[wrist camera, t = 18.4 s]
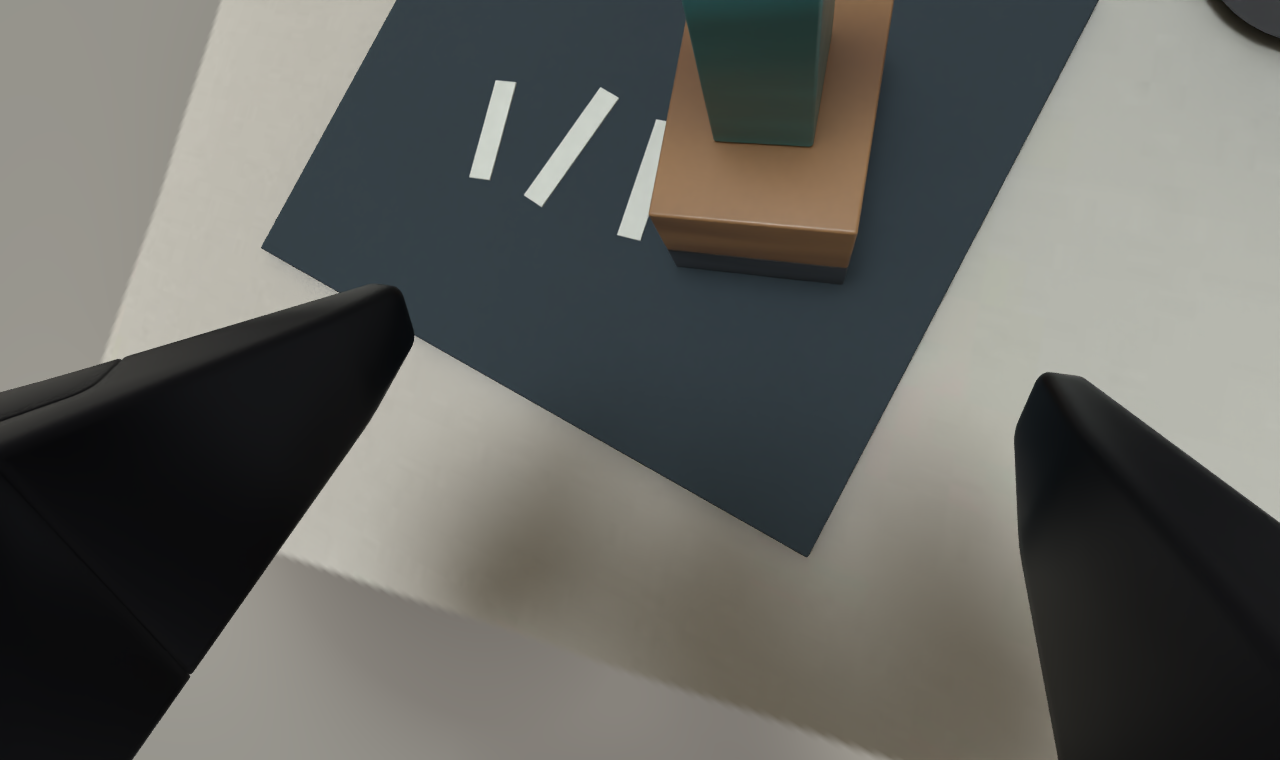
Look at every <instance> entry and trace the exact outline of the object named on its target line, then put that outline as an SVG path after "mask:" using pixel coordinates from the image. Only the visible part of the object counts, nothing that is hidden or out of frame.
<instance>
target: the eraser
mask: <svg viewBox="0 0 1280 760" xmlns="http://www.w3.org/2000/svg"><path fill="white" fill-rule="evenodd" d="M682 5H683V9H684V13H685V18H686V22H685V27H684V32H683V38H682V43H681V48H680V53H679V58H678V63H677V69H676V74H675V79H674V84H673V89H672V94H671V100H670V105H669V110H668V115H667V120H666V126H665V131H664V136H663V141H662V146H661V151H660V157H659V162H658V167H657V172H656V177H655V182H654V188H653V193H652V198H651V203H650V208H649V217H650V219H651V220H652V222H653V224H654V226H655V228H656V229H657V231H658V233H659V235H660V237H661V239H662V240H663V242H664V244H665V246H666V248H667V249H668V252H669V253H670V255H671V257H672V259H673V261H674V263H675V264H676V266H679V267H688V268H697V269H706V270H715V271H724V272H733V273H742V274H751V275H760V276H769V277H778V278H787V279H796V280H805V281H814V282H823V283H832V284H843V283H844V280H845V277H846V273H847V269H848V266H849V262H850V259H851V255H852V252H853V248H854V244H855V241H856V237H857V234H858V228H859V222H860V215H861V209H862V203H863V196H864V190H865V184H866V177H867V171H868V164H869V158H870V152H871V145H872V139H873V132H874V126H875V120H876V113H877V107H878V100H879V94H880V88H881V81H882V75H883V68H884V62H885V56H886V49H887V43H888V37H889V30H890V24H891V17H892V11H893V5H894V0H682Z"/></svg>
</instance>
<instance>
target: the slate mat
mask: <svg viewBox="0 0 1280 760" xmlns="http://www.w3.org/2000/svg"><path fill="white" fill-rule="evenodd" d="M1098 1H1099V0H894V5H893V11H892V17H891V24H890V30H889V37H888V43H887V49H886V56H885V62H884V68H883V75H882V81H881V88H880V94H879V100H878V107H877V113H876V120H875V126H874V132H873V139H872V145H871V152H870V158H869V164H868V171H867V177H866V184H865V190H864V196H863V203H862V209H861V215H860V222H859V228H858V234H857V237H856V241H855V244H854V248H853V252H852V255H851V259H850V262H849V266H848V269H847V273H846V277H845V280H844V283H843V284H832V283H823V282H814V281H805V280H796V279H787V278H778V277H769V276H760V275H751V274H742V273H733V272H724V271H715V270H706V269H697V268H688V267H679V266H676V264H675V263H674V261H673V259H672V257H671V255H670V253H669V252H668V249H667V248H666V246H665V244H664V242H663V240H662V239H661V237H660V235H659V233H658V231H657V229H656V228H655V226H654V224H653V222H652V220H651V219H650V217H649V208H650V203H651V198H652V193H653V188H654V182H655V177H656V172H657V167H658V162H659V157H660V151H661V146H662V141H663V136H664V131H665V126H666V120H667V115H668V110H669V105H670V100H671V94H672V89H673V84H674V79H675V74H676V69H677V63H678V58H679V53H680V48H681V43H682V38H683V32H684V27H685V22H686V18H685V13H684V9H683V5H682V0H396V2H395V4H394V6H393V7H392V9H391V11H390V13H389V15H388V17H387V18H386V20H385V22H384V24H383V26H382V28H381V29H380V31H379V33H378V35H377V37H376V39H375V40H374V42H373V44H372V46H371V48H370V49H369V51H368V53H367V55H366V57H365V59H364V60H363V62H362V64H361V66H360V68H359V70H358V71H357V73H356V75H355V77H354V79H353V81H352V82H351V84H350V86H349V88H348V90H347V91H346V93H345V95H344V97H343V99H342V101H341V102H340V104H339V106H338V108H337V110H336V112H335V113H334V115H333V117H332V119H331V121H330V123H329V124H328V126H327V128H326V130H325V132H324V133H323V135H322V137H321V139H320V141H319V143H318V144H317V146H316V148H315V150H314V152H313V154H312V155H311V157H310V159H309V161H308V163H307V165H306V166H305V168H304V170H303V172H302V174H301V175H300V177H299V179H298V181H297V183H296V185H295V186H294V188H293V190H292V192H291V194H290V196H289V197H288V199H287V201H286V203H285V205H284V207H283V208H282V210H281V212H280V214H279V216H278V217H277V219H276V221H275V223H274V225H273V227H272V228H271V230H270V232H269V234H268V236H267V238H266V239H265V241H264V243H263V245H262V247H261V248H262V249H264V250H265V251H267V252H269V253H271V254H272V255H274V256H276V257H278V258H279V259H281V260H283V261H285V262H286V263H288V264H290V265H292V266H293V267H295V268H297V269H299V270H301V271H302V272H304V273H306V274H308V275H309V276H311V277H313V278H315V279H316V280H318V281H320V282H322V283H323V284H325V285H327V286H329V287H331V288H332V289H334V290H336V291H338V292H339V293H341V292H345V291H348V290H351V289H355V288H358V287H362V286H365V285H368V284H375V283H376V284H383V285H391V286H395V287H397V288H398V289H399V290H400V291H401V292H402V294H403V296H404V299H405V303H406V306H407V309H408V312H409V316H410V319H411V322H412V326H413V329H414V335H415V336H417V337H419V338H420V339H422V340H424V341H426V342H428V343H429V344H431V345H433V346H435V347H436V348H438V349H440V350H442V351H443V352H445V353H447V354H449V355H450V356H452V357H454V358H456V359H458V360H459V361H461V362H463V363H465V364H466V365H468V366H470V367H472V368H473V369H475V370H477V371H479V372H480V373H482V374H484V375H486V376H488V377H489V378H491V379H493V380H495V381H496V382H498V383H500V384H502V385H503V386H505V387H507V388H509V389H510V390H512V391H514V392H516V393H517V394H519V395H521V396H523V397H525V398H526V399H528V400H530V401H532V402H533V403H535V404H537V405H539V406H540V407H542V408H544V409H546V410H547V411H549V412H551V413H553V414H555V415H556V416H558V417H560V418H562V419H563V420H565V421H567V422H569V423H570V424H572V425H574V426H576V427H577V428H579V429H581V430H583V431H585V432H586V433H588V434H590V435H592V436H593V437H595V438H597V439H599V440H600V441H602V442H604V443H606V444H607V445H609V446H611V447H613V448H614V449H616V450H618V451H620V452H622V453H623V454H625V455H627V456H629V457H630V458H632V459H634V460H636V461H637V462H639V463H641V464H643V465H644V466H646V467H648V468H650V469H652V470H653V471H655V472H657V473H659V474H660V475H662V476H664V477H666V478H667V479H669V480H671V481H673V482H674V483H676V484H678V485H680V486H682V487H683V488H685V489H687V490H689V491H690V492H692V493H694V494H696V495H697V496H699V497H701V498H703V499H704V500H706V501H708V502H710V503H712V504H713V505H715V506H717V507H719V508H720V509H722V510H724V511H726V512H727V513H729V514H731V515H733V516H734V517H736V518H738V519H740V520H741V521H743V522H745V523H747V524H749V525H750V526H752V527H754V528H756V529H757V530H759V531H761V532H763V533H764V534H766V535H768V536H770V537H771V538H773V539H775V540H777V541H779V542H780V543H782V544H784V545H786V546H787V547H789V548H791V549H793V550H794V551H796V552H798V553H800V554H801V555H803V556H805V557H808V556H809V554H810V552H811V550H812V548H813V546H814V544H815V543H816V541H817V539H818V537H819V535H820V533H821V531H822V529H823V527H824V525H825V523H826V521H827V520H828V518H829V516H830V514H831V512H832V510H833V508H834V506H835V504H836V502H837V500H838V499H839V497H840V495H841V493H842V491H843V489H844V487H845V485H846V483H847V481H848V479H849V477H850V476H851V474H852V472H853V470H854V468H855V466H856V464H857V462H858V460H859V458H860V456H861V454H862V453H863V451H864V449H865V447H866V445H867V443H868V441H869V439H870V437H871V435H872V433H873V431H874V430H875V428H876V426H877V424H878V422H879V420H880V418H881V416H882V414H883V412H884V410H885V409H886V407H887V405H888V403H889V401H890V399H891V397H892V395H893V393H894V391H895V389H896V387H897V386H898V384H899V382H900V380H901V378H902V376H903V374H904V372H905V370H906V368H907V366H908V364H909V363H910V361H911V359H912V357H913V355H914V353H915V351H916V349H917V347H918V345H919V343H920V341H921V340H922V338H923V336H924V334H925V332H926V330H927V328H928V326H929V324H930V322H931V320H932V319H933V317H934V315H935V313H936V311H937V309H938V307H939V305H940V303H941V301H942V299H943V297H944V296H945V294H946V292H947V290H948V288H949V286H950V284H951V282H952V280H953V278H954V276H955V274H956V273H957V271H958V269H959V267H960V265H961V263H962V261H963V259H964V257H965V255H966V253H967V251H968V250H969V248H970V246H971V244H972V242H973V240H974V238H975V236H976V234H977V232H978V230H979V229H980V227H981V225H982V223H983V221H984V219H985V217H986V215H987V213H988V211H989V209H990V207H991V206H992V204H993V202H994V200H995V198H996V196H997V194H998V192H999V190H1000V188H1001V186H1002V184H1003V183H1004V181H1005V179H1006V177H1007V175H1008V173H1009V171H1010V169H1011V167H1012V165H1013V163H1014V161H1015V160H1016V158H1017V156H1018V154H1019V152H1020V150H1021V148H1022V146H1023V144H1024V142H1025V140H1026V139H1027V137H1028V135H1029V133H1030V131H1031V129H1032V127H1033V125H1034V123H1035V121H1036V119H1037V117H1038V116H1039V114H1040V112H1041V110H1042V108H1043V106H1044V104H1045V102H1046V100H1047V98H1048V96H1049V94H1050V93H1051V91H1052V89H1053V87H1054V85H1055V83H1056V81H1057V79H1058V77H1059V75H1060V73H1061V71H1062V70H1063V68H1064V66H1065V64H1066V62H1067V60H1068V58H1069V56H1070V54H1071V52H1072V50H1073V49H1074V47H1075V45H1076V43H1077V41H1078V39H1079V37H1080V35H1081V33H1082V31H1083V29H1084V27H1085V26H1086V24H1087V22H1088V20H1089V18H1090V16H1091V14H1092V12H1093V10H1094V8H1095V6H1096V4H1097V3H1098Z"/></svg>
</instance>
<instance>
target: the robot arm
mask: <svg viewBox="0 0 1280 760" xmlns="http://www.w3.org/2000/svg"><path fill="white" fill-rule="evenodd" d="M413 342H414V329H413V326H412V322H411V319H410V316H409V312H408V309H407V306H406V303H405V299H404V296H403V294H402V292H401V291H400V290H399V289H398V288H397V287H395V286H391V285H383V284H376V283H375V284H368V285H365V286H362V287H358V288H355V289H351V290H348V291H345V292H341V293H338V294H335V295H331V296H328V297H325V298H321V299H318V300H315V301H311V302H308V303H304V304H301V305H298V306H294V307H291V308H288V309H284V310H281V311H278V312H274V313H271V314H268V315H264V316H261V317H257V318H254V319H251V320H247V321H244V322H241V323H237V324H234V325H231V326H227V327H224V328H221V329H217V330H214V331H210V332H207V333H204V334H200V335H197V336H194V337H190V338H187V339H184V340H180V341H177V342H174V343H170V344H167V345H163V346H160V347H157V348H153V349H150V350H147V351H143V352H140V353H137V354H133V355H130V356H127V357H125V358H123V359H122V360H121V359H116V360H113V361H109V362H106V363H103V364H99V365H96V366H93V367H90V368H86V369H82V370H79V371H76V372H72V373H68V374H65V375H62V376H58V377H55V378H51V379H48V380H44V381H41V382H37V383H33V384H29V385H26V386H22V387H19V388H15V389H11V390H7V391H4V392H0V760H132V759H133V758H134V756H135V755H136V753H137V752H138V751H139V749H140V748H141V746H142V745H143V744H144V742H145V741H146V739H147V738H148V737H149V735H150V734H151V732H152V731H153V729H154V728H155V727H156V725H157V724H158V722H159V721H160V720H161V718H162V717H163V715H164V714H165V712H166V711H167V710H168V708H169V707H170V705H171V704H172V702H173V701H174V699H175V698H176V697H177V695H178V694H179V693H180V691H181V690H182V688H183V687H184V685H185V684H186V682H187V681H188V680H189V678H190V675H189V674H192V673H193V672H194V670H195V669H196V667H197V666H198V664H199V663H200V662H201V660H202V659H203V658H204V656H205V655H206V653H207V652H208V650H209V649H210V647H211V646H212V645H213V643H214V642H215V641H216V639H217V638H218V636H219V635H220V633H221V632H222V631H223V629H224V628H225V626H226V625H227V623H228V622H229V621H230V619H231V618H232V616H233V615H234V613H235V612H236V611H237V609H238V608H239V606H240V605H241V604H242V602H243V601H244V599H245V598H246V596H247V595H248V593H249V592H250V591H251V589H252V588H253V587H254V585H255V584H256V582H257V581H258V579H259V578H260V577H261V575H262V574H263V572H264V571H265V570H266V568H267V567H268V565H269V564H270V562H271V561H272V560H273V558H274V557H275V555H276V554H277V553H278V551H279V550H280V548H281V547H282V545H283V544H284V543H285V541H286V540H287V538H288V537H289V535H290V534H291V533H292V531H293V530H294V528H295V527H296V526H297V524H298V523H299V521H300V520H301V518H302V517H303V516H304V514H305V513H306V511H307V510H308V509H309V507H310V506H311V504H312V503H313V501H314V500H315V499H316V497H317V496H318V494H319V493H320V491H321V490H322V489H323V487H324V486H325V484H326V483H327V482H328V480H329V479H330V477H331V476H332V474H333V473H334V472H335V470H336V469H337V467H338V466H339V465H340V463H341V462H342V460H343V459H344V457H345V456H346V455H347V453H348V452H349V450H350V449H351V448H352V446H353V445H354V443H355V442H356V440H357V439H358V438H359V436H360V435H361V433H362V432H363V430H364V429H365V427H366V426H367V424H368V423H369V421H370V420H371V418H372V417H373V415H374V413H375V412H376V410H377V408H378V406H379V405H380V403H381V401H382V399H383V398H384V396H385V394H386V392H387V390H388V389H389V387H390V385H391V383H392V381H393V380H394V378H395V376H396V374H397V373H398V371H399V369H400V367H401V365H402V364H403V362H404V360H405V358H406V356H407V355H408V353H409V351H410V349H411V347H412V345H413ZM1014 450H1015V473H1016V495H1017V518H1018V536H1019V548H1020V555H1021V561H1022V567H1023V573H1024V578H1025V583H1026V589H1027V594H1028V599H1029V605H1030V610H1031V616H1032V621H1033V626H1034V632H1035V637H1036V642H1037V648H1038V653H1039V658H1040V664H1041V669H1042V675H1043V680H1044V685H1045V691H1046V696H1047V701H1048V707H1049V712H1050V717H1051V723H1052V728H1053V733H1054V739H1055V744H1056V750H1057V755H1058V760H1280V523H1279V522H1278V521H1277V520H1275V519H1274V518H1273V517H1271V516H1270V515H1269V514H1267V513H1266V512H1265V511H1263V510H1262V509H1260V508H1259V507H1258V506H1256V505H1255V504H1254V503H1252V502H1251V501H1250V500H1248V499H1247V498H1246V497H1244V496H1243V495H1242V494H1240V493H1239V492H1237V491H1236V490H1235V489H1233V488H1232V487H1231V486H1229V485H1228V484H1227V483H1225V482H1224V481H1223V480H1221V479H1220V478H1219V477H1217V476H1216V475H1214V474H1213V473H1212V472H1210V471H1209V470H1208V469H1206V468H1205V467H1204V466H1202V465H1201V464H1200V463H1198V462H1197V461H1196V460H1194V459H1193V458H1191V457H1190V456H1189V455H1187V454H1186V453H1185V452H1183V451H1182V450H1181V449H1179V448H1178V447H1177V446H1175V445H1174V444H1173V443H1171V442H1170V441H1168V440H1167V439H1166V438H1164V437H1163V436H1162V435H1160V434H1159V433H1158V432H1156V431H1155V430H1154V429H1152V428H1151V427H1150V426H1148V425H1147V424H1145V423H1144V422H1143V421H1141V420H1140V419H1139V418H1137V417H1136V416H1135V415H1133V414H1132V413H1131V412H1129V411H1128V410H1127V409H1125V408H1124V407H1123V406H1121V405H1120V404H1118V403H1117V402H1116V401H1114V400H1113V399H1112V398H1110V397H1109V396H1108V395H1106V394H1105V393H1104V392H1102V391H1101V390H1100V389H1098V388H1097V387H1095V386H1094V385H1093V384H1091V383H1090V382H1089V381H1087V380H1086V379H1084V378H1083V377H1080V376H1075V375H1067V374H1059V373H1051V372H1046V373H1044V374H1042V375H1040V377H1039V378H1038V379H1037V380H1036V382H1035V384H1034V387H1033V389H1032V391H1031V393H1030V396H1029V398H1028V400H1027V402H1026V405H1025V407H1024V409H1023V411H1022V414H1021V416H1020V418H1019V421H1018V423H1017V426H1016V430H1015V436H1014Z"/></svg>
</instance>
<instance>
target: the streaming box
mask: <svg viewBox="0 0 1280 760" xmlns="http://www.w3.org/2000/svg"><path fill="white" fill-rule="evenodd" d="M1222 1H1223V2H1224V3H1225V4H1226V5H1227V6H1228V7H1229V8H1230V9H1231V10H1232V11H1233V12H1234V13H1235V14H1236V15H1238V16H1239V17H1240V18H1242V19H1243V20H1244V21H1246V22H1247V23H1248V24H1250V25H1252V26H1254V27H1255V28H1257V29H1259V30H1261V31H1263V32H1265V33H1267V34H1270V35H1273V36H1275V37H1278V38H1280V0H1222Z"/></svg>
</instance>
